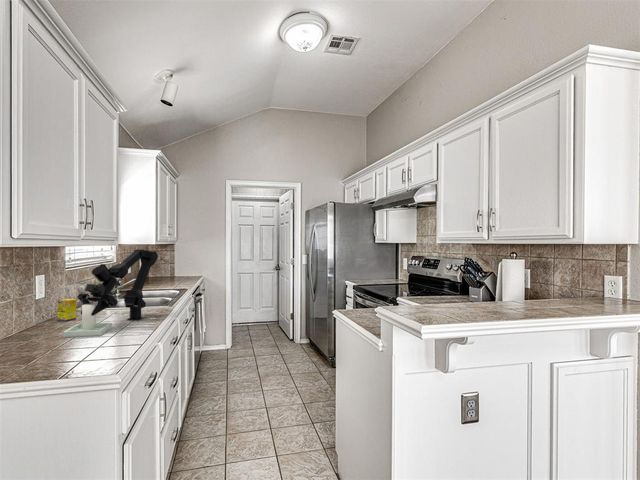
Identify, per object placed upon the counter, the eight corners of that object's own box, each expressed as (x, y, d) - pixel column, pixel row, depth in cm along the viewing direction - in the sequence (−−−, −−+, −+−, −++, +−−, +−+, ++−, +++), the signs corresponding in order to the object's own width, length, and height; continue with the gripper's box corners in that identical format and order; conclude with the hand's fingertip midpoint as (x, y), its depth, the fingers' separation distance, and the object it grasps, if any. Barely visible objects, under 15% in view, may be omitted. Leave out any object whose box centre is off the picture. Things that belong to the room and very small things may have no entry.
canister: (80, 328, 167) (81, 304, 167) (94, 326, 171) (94, 303, 171) (83, 330, 163) (83, 306, 163) (97, 328, 167) (97, 304, 167)
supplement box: (57, 320, 189) (57, 299, 189) (68, 318, 194) (68, 298, 194) (65, 321, 187) (65, 300, 187) (76, 319, 193) (76, 298, 193)
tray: (77, 329, 173) (77, 323, 173) (112, 327, 176) (112, 322, 176) (62, 337, 158) (63, 331, 158) (100, 336, 161) (100, 330, 161)
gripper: (80, 276, 173) (58, 303, 162) (113, 278, 169) (93, 305, 158) (94, 290, 181) (74, 317, 170) (125, 292, 176) (107, 319, 166)
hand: (86, 314), depth 166 cm, fingers closed on canister, 5 cm apart
